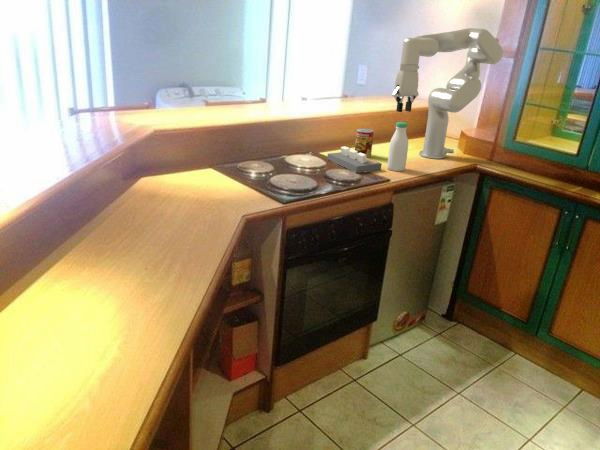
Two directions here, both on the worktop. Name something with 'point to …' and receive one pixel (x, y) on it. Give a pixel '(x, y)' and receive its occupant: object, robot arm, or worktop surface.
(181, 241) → the worktop surface
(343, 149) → the paddle
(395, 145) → the milk bottle
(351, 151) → the paddle mid
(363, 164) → the switch panel
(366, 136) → the canned food
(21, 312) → the worktop surface
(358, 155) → the paddle
